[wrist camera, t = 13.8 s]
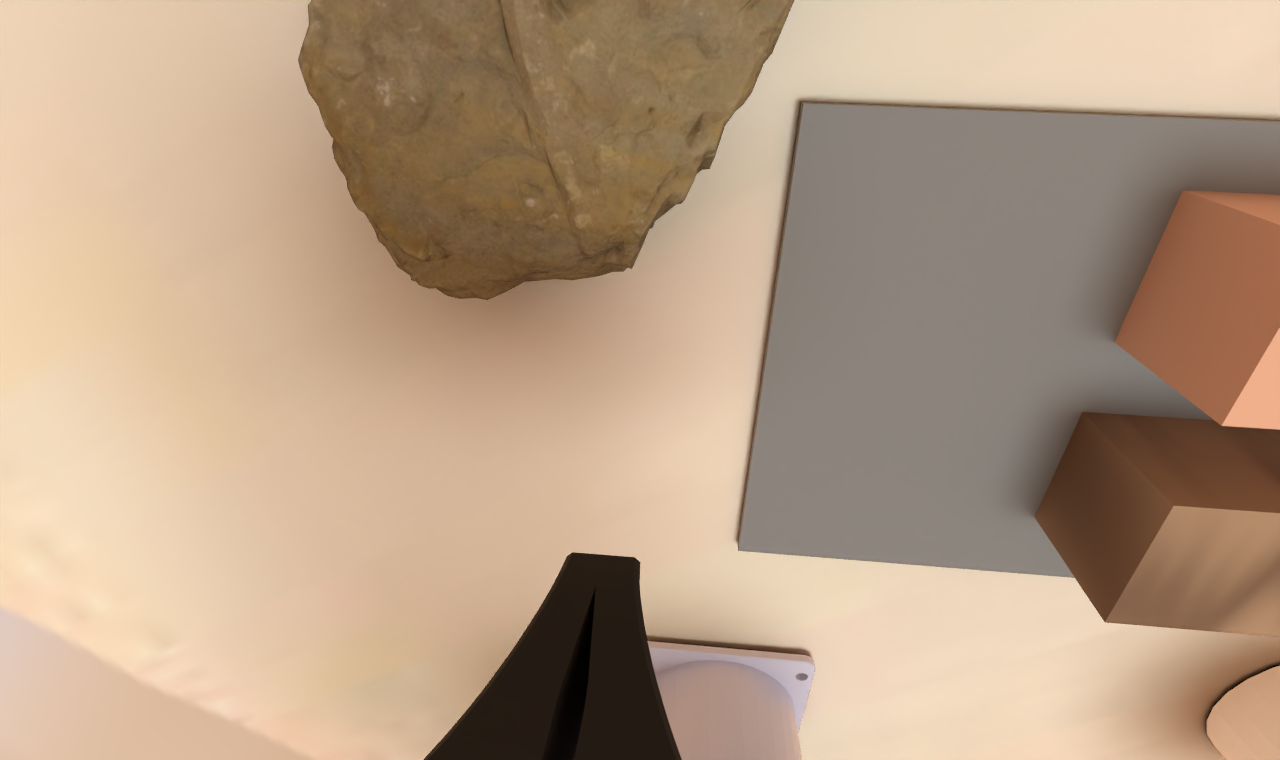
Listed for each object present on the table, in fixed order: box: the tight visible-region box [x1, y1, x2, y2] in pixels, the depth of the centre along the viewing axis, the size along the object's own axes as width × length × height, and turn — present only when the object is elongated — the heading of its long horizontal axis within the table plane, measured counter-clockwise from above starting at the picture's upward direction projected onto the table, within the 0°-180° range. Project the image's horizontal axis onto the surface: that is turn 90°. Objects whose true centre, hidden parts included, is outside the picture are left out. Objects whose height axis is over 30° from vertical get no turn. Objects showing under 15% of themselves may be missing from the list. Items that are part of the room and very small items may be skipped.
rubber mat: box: [738, 102, 1280, 578], centre depth 20 cm, size 16×20×1 cm
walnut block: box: [1035, 412, 1280, 637], centre depth 19 cm, size 4×4×8 cm
